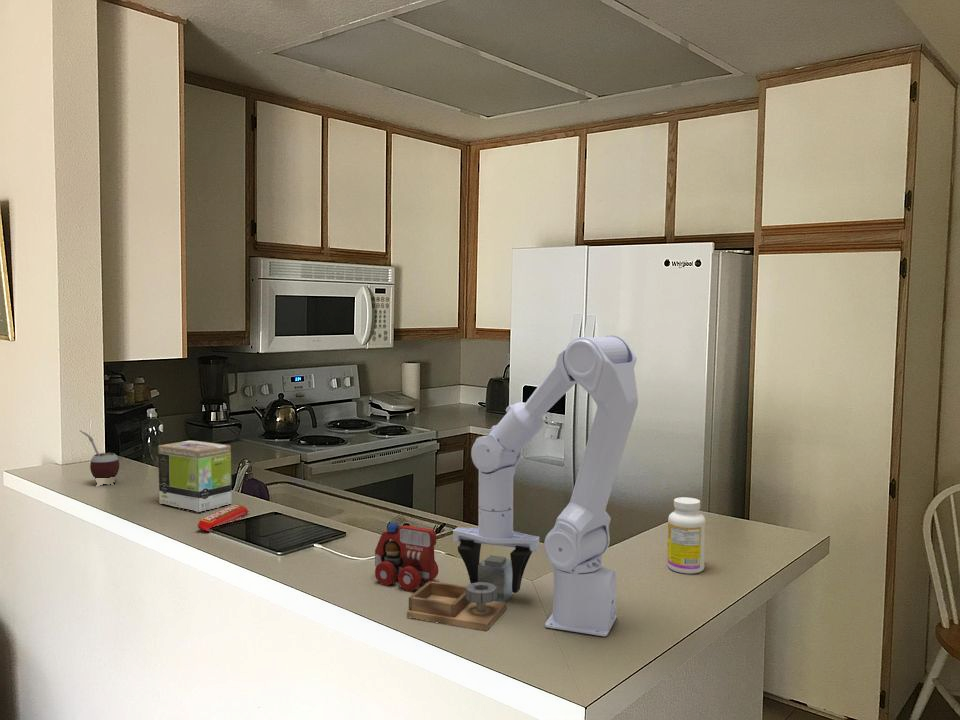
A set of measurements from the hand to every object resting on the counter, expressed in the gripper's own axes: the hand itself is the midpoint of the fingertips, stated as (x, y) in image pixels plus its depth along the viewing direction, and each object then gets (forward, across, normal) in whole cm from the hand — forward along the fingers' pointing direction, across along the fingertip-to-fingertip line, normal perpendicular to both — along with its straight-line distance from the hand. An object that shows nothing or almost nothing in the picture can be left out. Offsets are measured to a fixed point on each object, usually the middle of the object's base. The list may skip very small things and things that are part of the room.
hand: (495, 587), depth 129 cm
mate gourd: (+2, +124, -37) cm, 130 cm away
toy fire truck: (+2, +17, -1) cm, 17 cm away
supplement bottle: (+2, -28, -26) cm, 38 cm away
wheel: (-2, -1, +9) cm, 9 cm away
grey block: (+2, 0, 0) cm, 2 cm away
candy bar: (+2, +70, -19) cm, 73 cm away
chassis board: (+2, +3, +8) cm, 9 cm away
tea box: (+2, +87, -29) cm, 92 cm away
